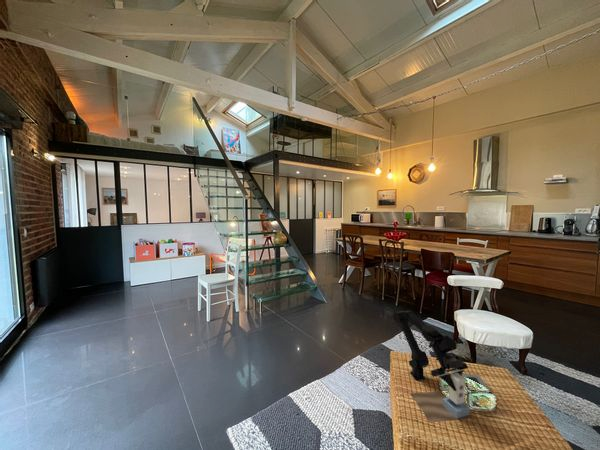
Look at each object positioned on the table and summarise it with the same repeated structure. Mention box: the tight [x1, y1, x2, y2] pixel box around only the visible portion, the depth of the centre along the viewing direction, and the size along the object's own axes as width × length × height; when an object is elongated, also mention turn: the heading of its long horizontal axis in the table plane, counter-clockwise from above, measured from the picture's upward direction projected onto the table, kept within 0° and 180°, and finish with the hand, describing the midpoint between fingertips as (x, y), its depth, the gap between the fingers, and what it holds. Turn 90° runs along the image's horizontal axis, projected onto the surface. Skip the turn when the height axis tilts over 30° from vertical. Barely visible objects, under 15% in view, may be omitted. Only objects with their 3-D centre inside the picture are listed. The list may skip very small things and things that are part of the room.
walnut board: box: [409, 390, 474, 423], centre depth 120 cm, size 17×22×1 cm
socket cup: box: [443, 397, 471, 419], centre depth 117 cm, size 8×8×4 cm
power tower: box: [448, 372, 466, 405], centre depth 116 cm, size 5×4×12 cm
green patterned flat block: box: [462, 372, 491, 391], centre depth 135 cm, size 13×10×2 cm
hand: (459, 389), depth 115 cm, fingers closed on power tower, 4 cm apart
